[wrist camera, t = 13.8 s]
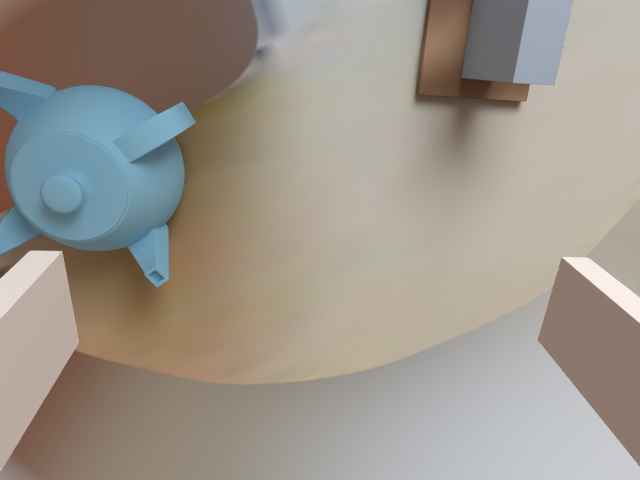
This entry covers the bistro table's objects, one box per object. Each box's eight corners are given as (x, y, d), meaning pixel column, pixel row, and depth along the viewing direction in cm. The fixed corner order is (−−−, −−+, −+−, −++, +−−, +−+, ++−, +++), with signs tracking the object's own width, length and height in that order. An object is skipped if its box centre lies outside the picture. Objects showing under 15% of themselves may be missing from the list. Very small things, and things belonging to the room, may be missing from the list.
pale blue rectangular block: (493, 80, 43) (554, 85, 34) (460, 77, 43) (512, 82, 33) (509, -8, 40) (579, -29, 31) (474, -11, 40) (535, -33, 31)
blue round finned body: (185, 257, 48) (160, 310, 37) (21, 232, 45) (-52, 280, 35) (205, 99, 43) (184, 110, 33) (23, 61, 40) (-61, 61, 30)
